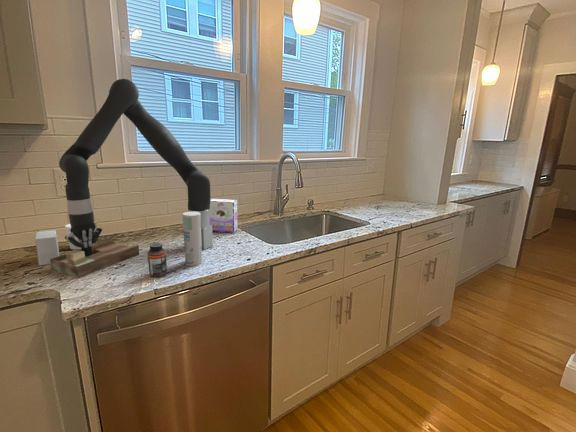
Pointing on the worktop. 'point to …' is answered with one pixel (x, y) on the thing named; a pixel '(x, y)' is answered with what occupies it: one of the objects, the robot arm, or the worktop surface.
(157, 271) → the supplement bottle
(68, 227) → the white cup
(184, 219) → the spray can
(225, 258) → the worktop surface
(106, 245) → the box
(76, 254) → the maple block
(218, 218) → the candy box
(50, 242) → the skincare box
